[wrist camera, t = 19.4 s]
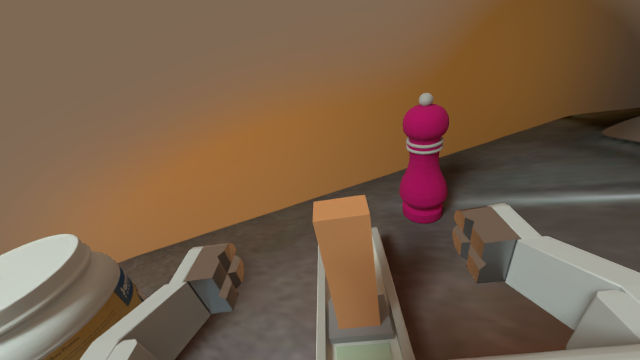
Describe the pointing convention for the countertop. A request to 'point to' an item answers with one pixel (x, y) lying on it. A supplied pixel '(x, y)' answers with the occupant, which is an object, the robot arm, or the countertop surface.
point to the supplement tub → (59, 299)
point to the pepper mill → (424, 161)
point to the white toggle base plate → (366, 356)
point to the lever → (350, 271)
